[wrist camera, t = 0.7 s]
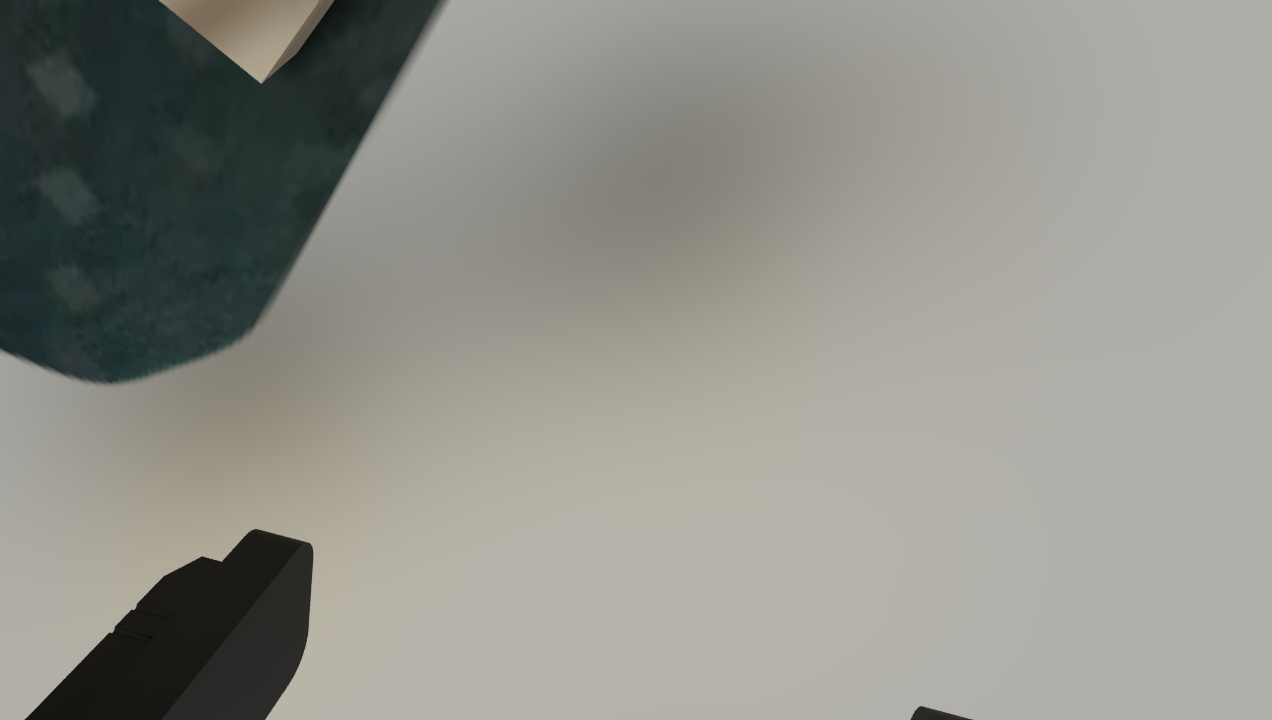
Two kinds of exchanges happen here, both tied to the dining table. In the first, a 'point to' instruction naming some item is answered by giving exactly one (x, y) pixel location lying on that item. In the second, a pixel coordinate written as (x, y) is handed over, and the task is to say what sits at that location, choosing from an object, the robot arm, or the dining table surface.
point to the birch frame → (253, 28)
